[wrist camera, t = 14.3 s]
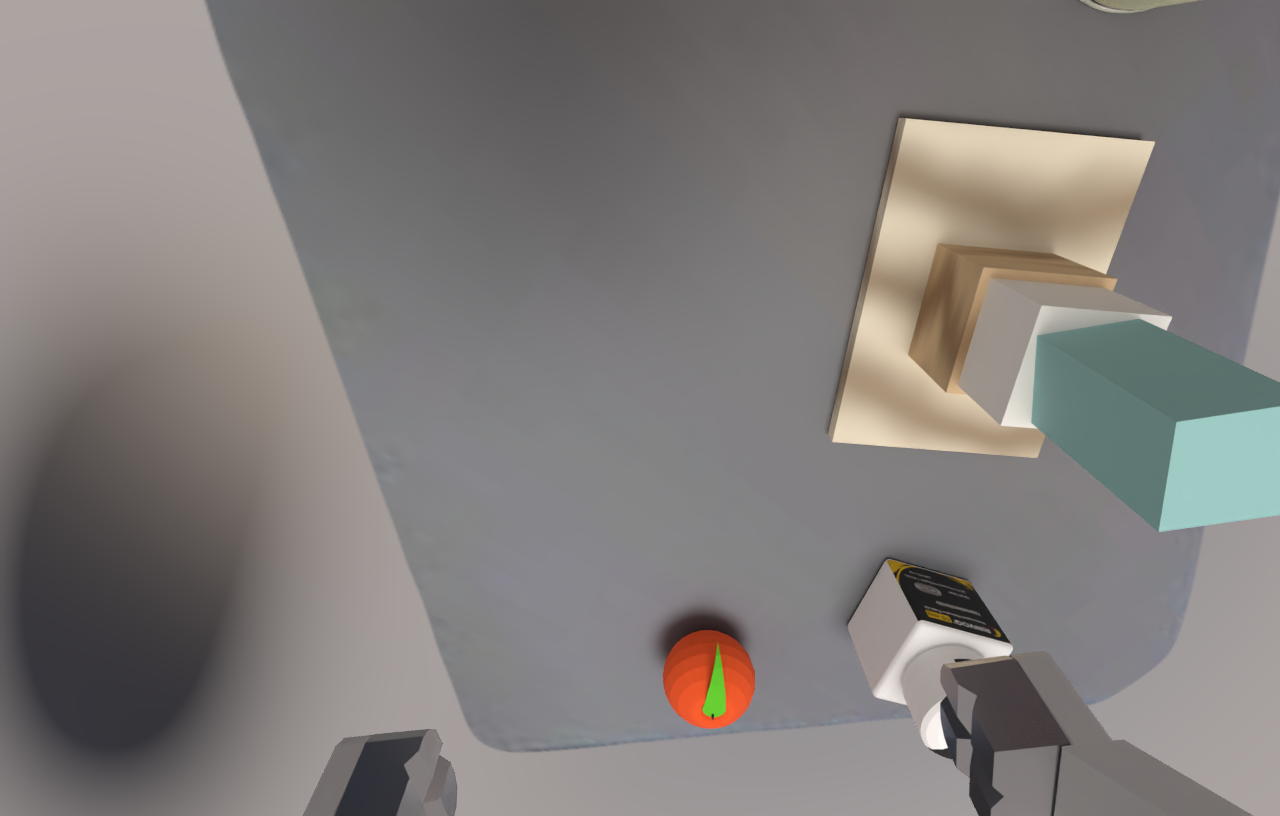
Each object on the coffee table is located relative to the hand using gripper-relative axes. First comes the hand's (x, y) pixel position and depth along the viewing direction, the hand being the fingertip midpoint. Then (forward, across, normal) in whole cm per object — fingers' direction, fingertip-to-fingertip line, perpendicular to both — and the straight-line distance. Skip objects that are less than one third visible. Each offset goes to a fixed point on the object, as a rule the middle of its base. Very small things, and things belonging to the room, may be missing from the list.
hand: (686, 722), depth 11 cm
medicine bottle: (+34, -15, +30) cm, 48 cm away
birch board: (+34, -19, +6) cm, 40 cm away
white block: (+27, -19, +6) cm, 33 cm away
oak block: (+33, -19, +6) cm, 38 cm away
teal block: (+22, -19, +6) cm, 30 cm away
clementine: (+34, +1, +31) cm, 46 cm away
